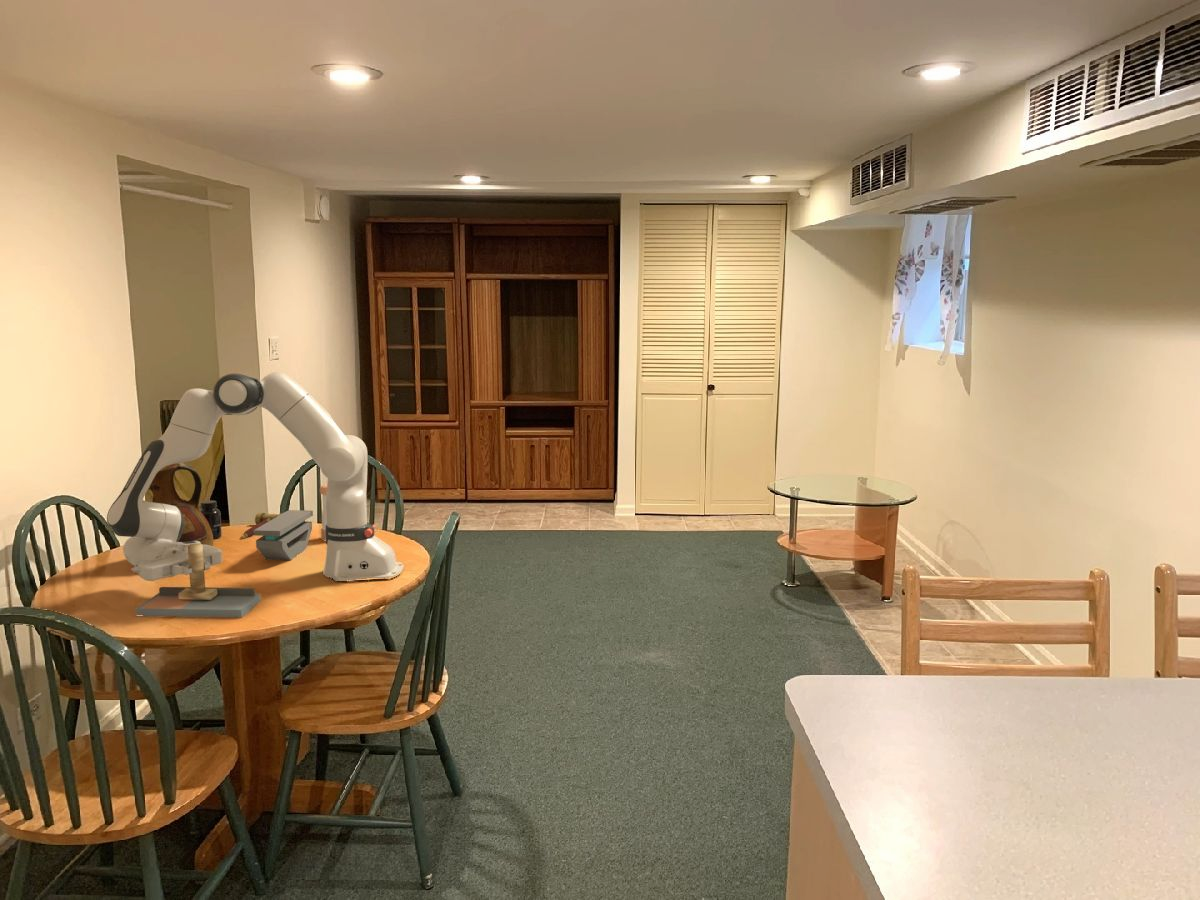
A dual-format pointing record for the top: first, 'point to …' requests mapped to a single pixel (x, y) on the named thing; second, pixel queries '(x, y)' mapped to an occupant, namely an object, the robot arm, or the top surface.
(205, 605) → the board
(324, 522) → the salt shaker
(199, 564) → the beige post stand
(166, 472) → the ceramic pitcher
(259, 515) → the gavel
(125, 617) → the top surface
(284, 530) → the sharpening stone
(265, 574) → the top surface
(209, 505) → the supplement bottle
